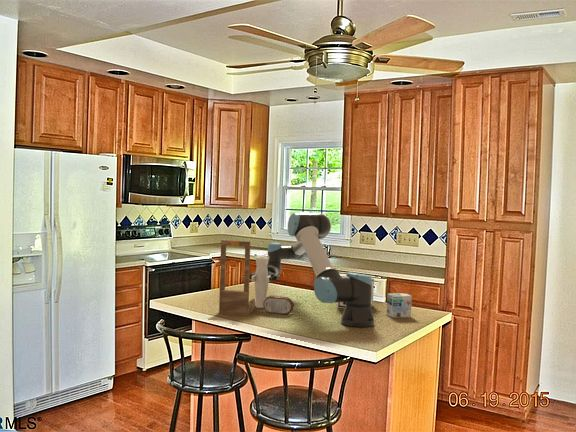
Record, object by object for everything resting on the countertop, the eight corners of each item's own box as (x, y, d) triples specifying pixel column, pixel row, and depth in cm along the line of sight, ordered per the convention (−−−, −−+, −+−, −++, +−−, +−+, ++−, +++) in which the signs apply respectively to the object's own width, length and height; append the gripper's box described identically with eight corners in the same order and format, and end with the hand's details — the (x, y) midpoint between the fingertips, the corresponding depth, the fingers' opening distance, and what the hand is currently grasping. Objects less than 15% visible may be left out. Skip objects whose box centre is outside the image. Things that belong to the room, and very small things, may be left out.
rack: (246, 316, 262) (249, 241, 260) (218, 313, 265) (220, 239, 263) (254, 309, 276) (256, 238, 275) (227, 307, 279) (229, 237, 277)
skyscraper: (271, 308, 280) (273, 254, 279) (256, 309, 277) (258, 254, 276) (265, 305, 288) (268, 251, 287) (251, 305, 285) (253, 251, 284)
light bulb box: (391, 317, 269) (392, 296, 268) (385, 314, 275) (386, 293, 275) (411, 317, 272) (412, 295, 271) (405, 314, 278) (406, 293, 278)
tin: (293, 314, 270) (294, 297, 269) (291, 315, 267) (292, 298, 266) (264, 311, 274) (264, 294, 273) (262, 312, 271) (262, 295, 270)
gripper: (287, 281, 298) (278, 288, 275) (252, 278, 302) (240, 285, 279) (287, 267, 298) (279, 273, 275) (252, 265, 301) (240, 271, 279)
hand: (259, 279), depth 277 cm, fingers closed on skyscraper, 7 cm apart
